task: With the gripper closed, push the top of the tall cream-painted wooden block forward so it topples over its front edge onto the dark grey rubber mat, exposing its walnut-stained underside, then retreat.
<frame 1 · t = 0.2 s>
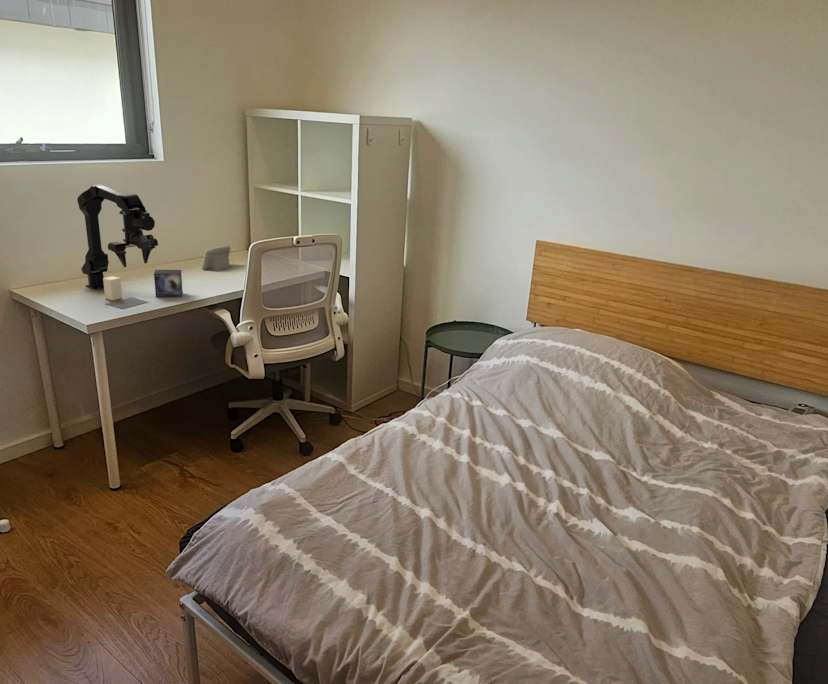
hand: (135, 265, 246), 14 cm above the table, fingers open, 9 cm apart
small box: (169, 295, 259), on the table
digital clock: (216, 268, 306), on the table
cream block: (114, 299, 249), on the table
grey rubber mat: (127, 303, 246), on the table
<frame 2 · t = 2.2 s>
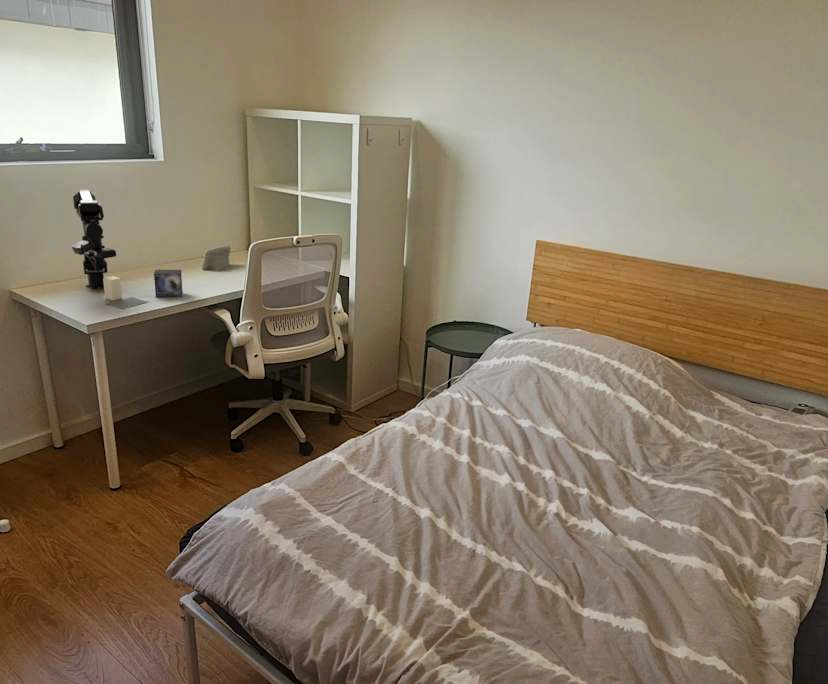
hand: (97, 271, 249), 10 cm above the table, fingers closed
nothing on the table moved.
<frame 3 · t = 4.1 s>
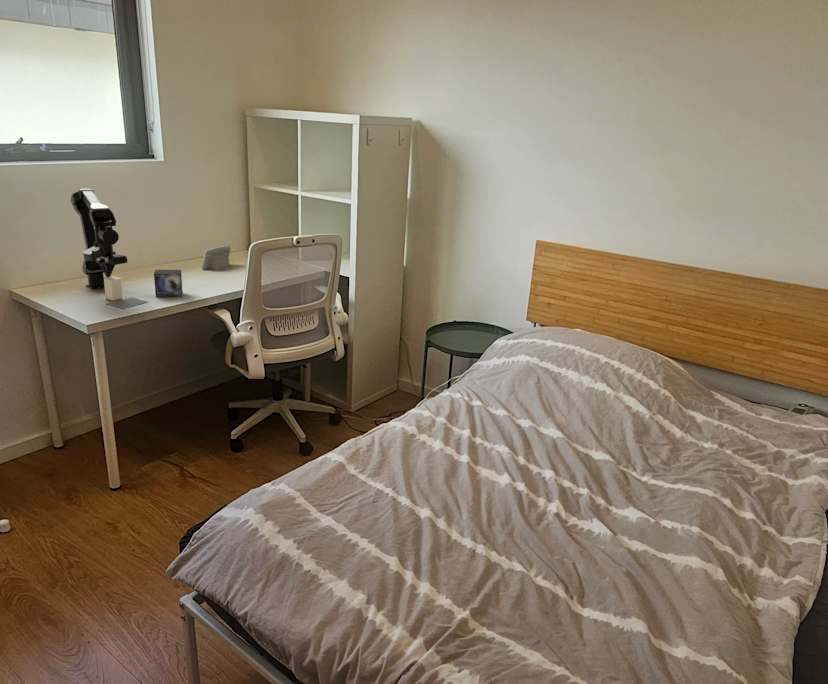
hand: (108, 277, 247), 9 cm above the table, fingers closed
cream block: (114, 299, 249), on the table, touching gripper
everything else where it was.
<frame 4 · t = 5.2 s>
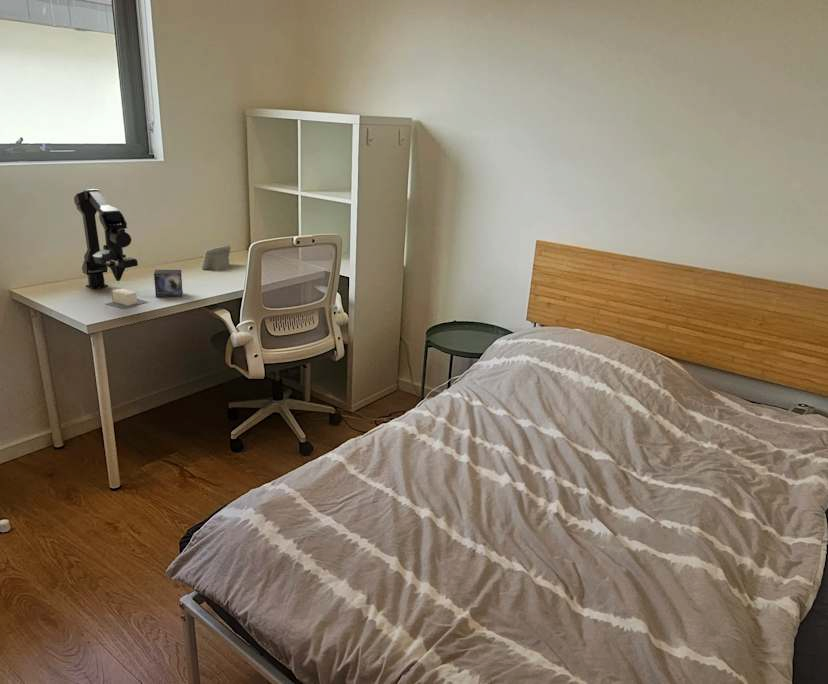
hand: (118, 280, 244), 9 cm above the table, fingers closed
cream block: (116, 294, 247), point 2 cm above the table, tilted 90°, touching grey rubber mat
everything else where it was.
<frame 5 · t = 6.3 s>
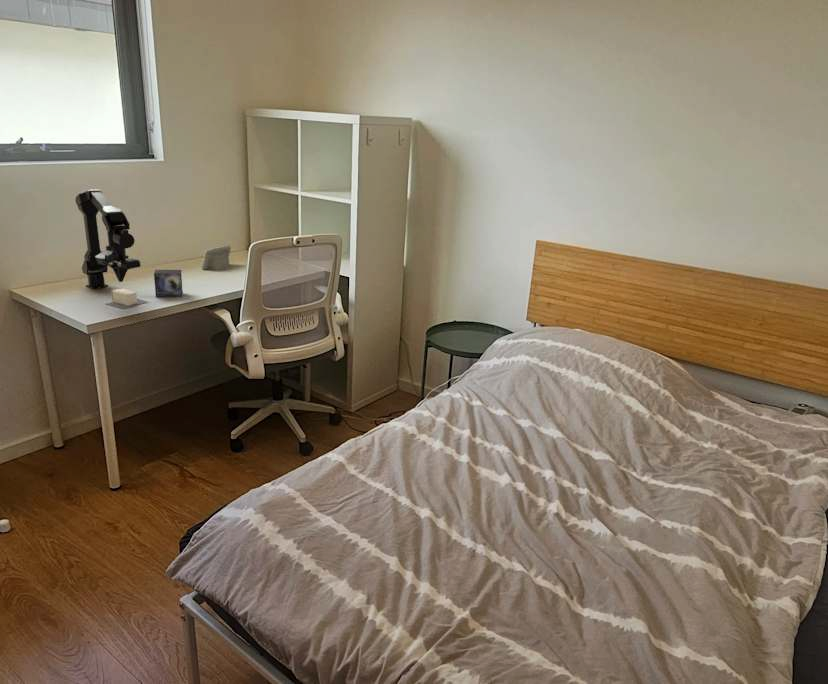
hand: (120, 281, 244), 8 cm above the table, fingers closed
nothing on the table moved.
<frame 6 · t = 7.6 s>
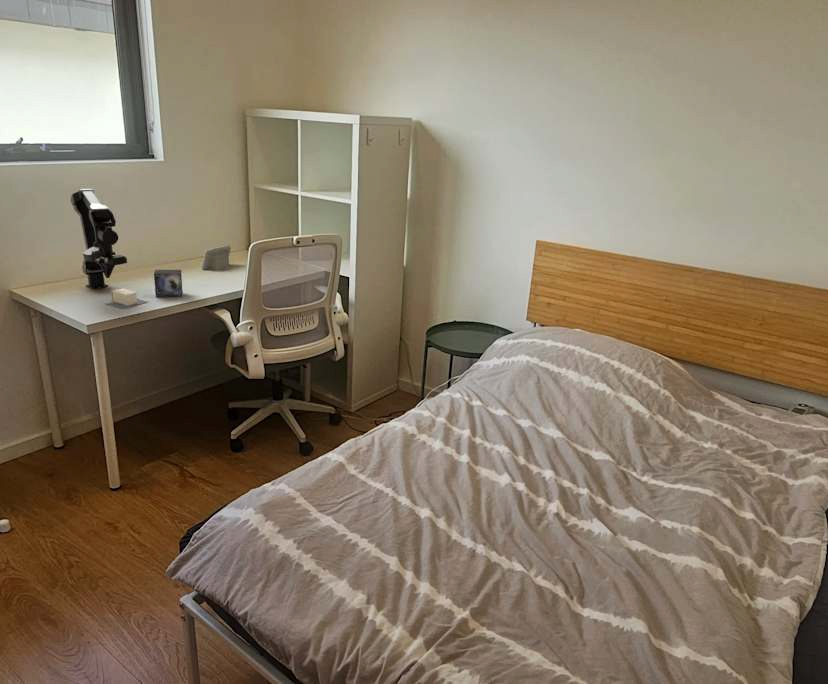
hand: (107, 277, 247), 9 cm above the table, fingers closed
nothing on the table moved.
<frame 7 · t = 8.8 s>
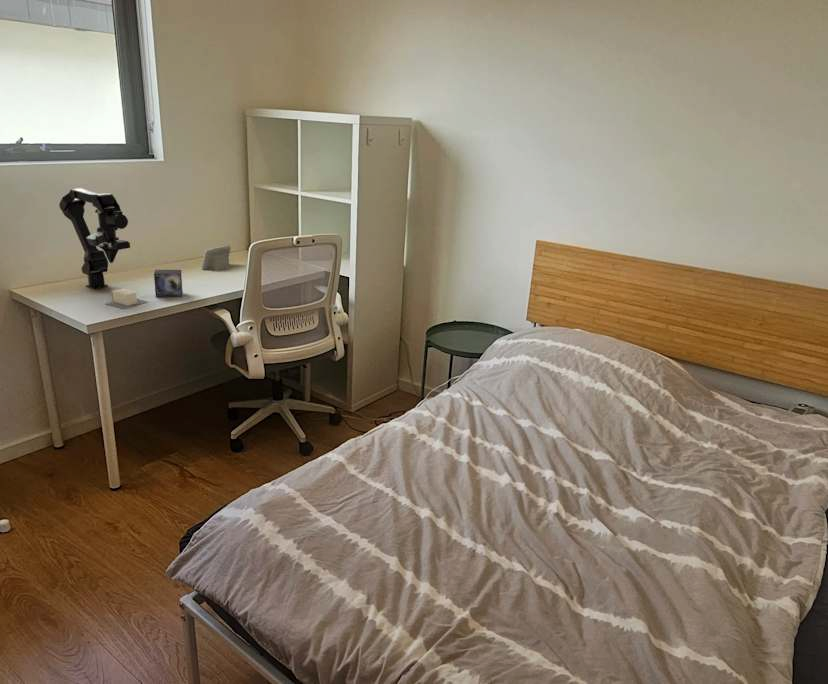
hand: (111, 262, 252), 13 cm above the table, fingers closed
nothing on the table moved.
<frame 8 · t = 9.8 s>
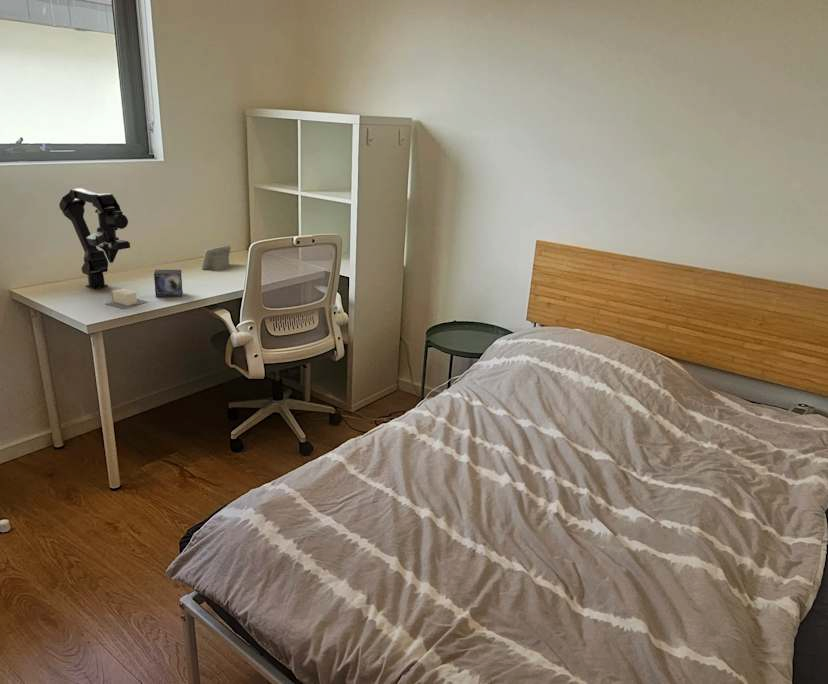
hand: (111, 262, 252), 13 cm above the table, fingers closed
nothing on the table moved.
at the end: cream block tilted 90°; cream block inside the target area (5.3 cm from its centre), point 2.4 cm above the table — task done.
